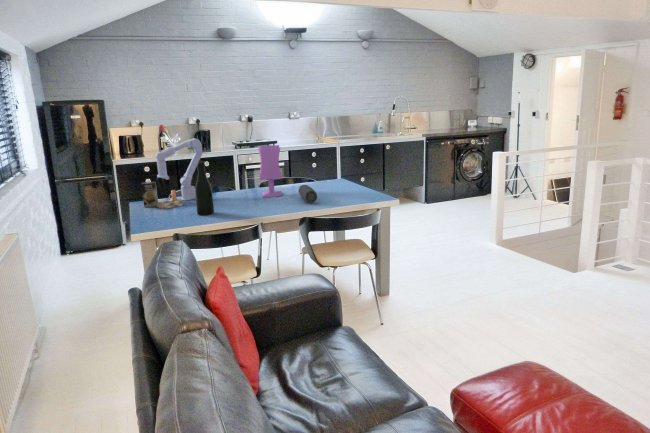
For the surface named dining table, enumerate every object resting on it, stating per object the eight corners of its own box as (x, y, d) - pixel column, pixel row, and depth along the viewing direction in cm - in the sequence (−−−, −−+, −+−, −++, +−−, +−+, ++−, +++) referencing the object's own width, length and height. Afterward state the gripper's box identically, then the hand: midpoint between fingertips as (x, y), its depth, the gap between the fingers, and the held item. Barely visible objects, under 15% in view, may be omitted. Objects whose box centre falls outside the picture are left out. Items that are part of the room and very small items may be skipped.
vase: (283, 196, 335) (280, 147, 326) (261, 198, 333) (257, 148, 324) (281, 192, 350) (279, 145, 341) (260, 193, 348) (257, 146, 339)
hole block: (176, 203, 326) (176, 198, 325) (183, 205, 319) (182, 200, 318) (157, 206, 317) (156, 202, 317) (163, 209, 310) (162, 204, 309)
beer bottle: (197, 216, 288) (191, 162, 279) (197, 212, 297) (191, 160, 289) (214, 214, 290) (209, 161, 281) (214, 210, 300) (209, 159, 291)
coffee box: (144, 207, 317) (140, 183, 312) (144, 205, 323) (141, 182, 318) (158, 206, 319) (155, 182, 315) (158, 204, 325) (155, 181, 321)
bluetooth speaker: (297, 198, 328) (297, 184, 325) (310, 197, 330) (310, 183, 327) (304, 205, 306) (303, 190, 304) (318, 204, 308) (317, 189, 306)
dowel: (176, 204, 322) (174, 190, 320) (178, 204, 320) (176, 190, 318) (172, 205, 320) (170, 190, 318) (174, 205, 318) (172, 190, 316)
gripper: (152, 169, 328) (154, 188, 332) (161, 171, 318) (163, 190, 321) (161, 167, 333) (164, 186, 336) (170, 169, 323) (173, 189, 326)
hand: (164, 188), depth 329 cm, fingers open, 7 cm apart
